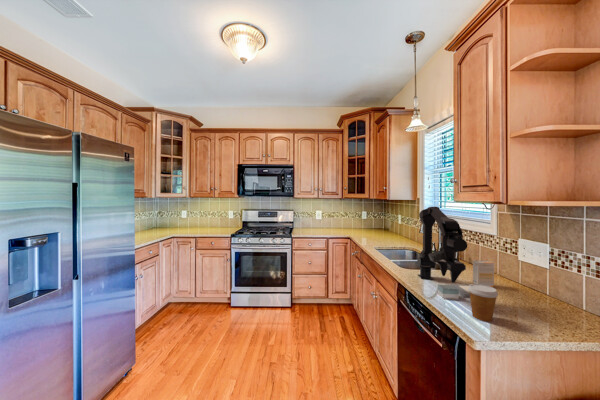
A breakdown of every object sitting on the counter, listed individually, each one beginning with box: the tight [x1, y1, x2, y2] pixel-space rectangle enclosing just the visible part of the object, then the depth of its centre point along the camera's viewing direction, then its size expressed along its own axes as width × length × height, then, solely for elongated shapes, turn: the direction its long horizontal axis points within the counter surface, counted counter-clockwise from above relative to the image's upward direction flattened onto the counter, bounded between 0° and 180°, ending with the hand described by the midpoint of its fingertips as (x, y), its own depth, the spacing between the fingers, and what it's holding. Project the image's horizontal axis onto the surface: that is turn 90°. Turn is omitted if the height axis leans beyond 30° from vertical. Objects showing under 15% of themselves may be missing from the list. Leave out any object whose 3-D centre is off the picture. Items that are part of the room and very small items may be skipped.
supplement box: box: [472, 260, 495, 288], centre depth 129 cm, size 8×5×13 cm, turn 84°
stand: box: [450, 283, 470, 298], centre depth 120 cm, size 13×13×2 cm
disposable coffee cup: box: [468, 283, 499, 322], centre depth 95 cm, size 10×10×12 cm
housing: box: [437, 284, 460, 301], centre depth 114 cm, size 5×7×5 cm
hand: (448, 279), depth 114 cm, fingers open, 9 cm apart
